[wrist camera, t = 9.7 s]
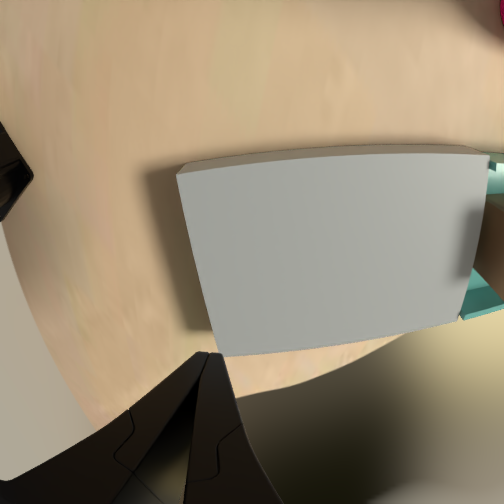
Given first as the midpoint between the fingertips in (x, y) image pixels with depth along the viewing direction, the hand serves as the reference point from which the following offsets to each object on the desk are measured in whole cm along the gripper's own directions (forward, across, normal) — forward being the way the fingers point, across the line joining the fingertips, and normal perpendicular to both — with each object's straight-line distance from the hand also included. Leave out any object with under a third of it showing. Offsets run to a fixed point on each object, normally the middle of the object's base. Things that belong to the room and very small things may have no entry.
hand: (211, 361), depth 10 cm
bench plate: (+13, +7, -2) cm, 15 cm away
